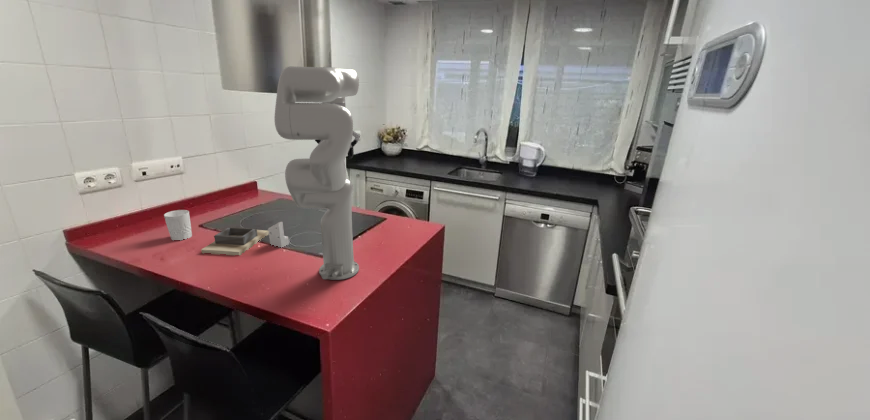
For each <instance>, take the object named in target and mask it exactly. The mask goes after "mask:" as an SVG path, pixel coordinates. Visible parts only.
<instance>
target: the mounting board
mask: <svg viewBox="0 0 870 420" xmlns="http://www.w3.org/2000/svg"><path fill="white" fill-rule="evenodd" d="M265 236H266V237H267V236H269V232H268V229H267V230H266V229H265V230H264V229H263V230H262V229H257V228H253V227H252V228H251V227H237V226H236V227H235V226H228V227H226V228H224V230H222V231H220V232H218V233H216V234H215V235H213V237H214V241H213V242H211V243H209V244H207V245H206V246H205V247H203V248H201V249H200V251H201V253H202V254H204V253H211V254H210V255H220V254H226V255H225V256H235V255H239V256H240V257H241V256H242V255H243V254H244V253H246V252H247V251H248V250H250V249H251V248H252V247H254V246H255V245H256V244H258V243H259V242H260V241H262V240H263V239H265V238H266V237H265ZM262 238H263V239H262ZM261 239H262V240H261ZM259 240H260V241H259ZM258 241H259V242H258ZM257 242H258V243H257ZM254 244H255V245H254ZM253 245H254V246H253ZM249 248H250V249H249ZM246 250H247V251H246ZM245 251H246V252H245ZM242 253H243V254H242Z"/></svg>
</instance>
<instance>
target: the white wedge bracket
mask: <svg viewBox="0 0 870 420" xmlns="http://www.w3.org/2000/svg"><path fill="white" fill-rule="evenodd" d="M283 223H284V222H283V221H279V222H277V223H275V224H273V225H272V226H270V227H267V231H268V232H269V235H268V237H269V238H268V239H269V244H271V245H270V246H272V245H274V246H273V247H276V246H278V247H277V248H280V247H281V248H280V249H282V247H283V248H284V246H285V247H286V245H287V246H289V245H290V240H289V239H290V238H289V236H286V235H285V233H284V232H285V231H284V224H283Z"/></svg>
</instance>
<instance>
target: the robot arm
mask: <svg viewBox="0 0 870 420" xmlns="http://www.w3.org/2000/svg"><path fill="white" fill-rule="evenodd" d="M359 78H360V77H359V75H358V73H357V71H356V70H355V69H353V68H341V67H340V68H339V67H331V66H322V67H321V66H319V67H318V66H287V67H285V68H284V69H283V70H282V71H281V72H280V76H279V79H278V83H277V88H276V89H277V90H276V98H275V99H276V100H275V106H274V107H275V108H274V126H275V130H276V132H277V134H278V135H279V136H280V137H281V138H283V139H285V140H289V141H290V140H292V141H295V140H296V141H297V140H298V141H300V140H301V141H302V140H303V141H305V140H307V141H309V140H310V141H311V140H313V141H314V142H316V143H317V145H316V146H315V148H314V149H313V150H312V152H311V153H310V155H309V158H294V159H291V160H290V161H288V163H287V164H286V167H285V173H284V177H285V184H286V187H287V189H288V192H289V194H290V197H291V199H292V200H293V202H294V204H295V205H296V206H297V208H300V209H303V210H304V209H306V210H307V209H308V210H309V209H311V210H312V209H327V210H326V211H325V213H324V214H323V215H322V217H321V218H320V235H321V245H322V249H321V250H322V260H323V264H322V265H321V266H320V267H319V270H318V273H319V275H320V277H321V279H322V280H330V281H331V280H332V281H340V280H346V279H349V278H352V277H354V276H356V274H357V273H358V272H359V270H360V265H359V264H358V263H357V261H355V259H354V258H355V257H354V240H353V239H354V238H353V221H352V219H353V218H352V216H353V215H352V210H353V209H352V208H353V198H354V197H353V196H354V186H353V185H354V184H353V183H352V181H351V180H350V179H349V178H347V171H346V170H347V169H346V163H345V160H346V157H347V159H348V160H350V159H352V158H353V157H354V156H355V154H354V152H355V151H354V147H355V146H356V144H357V143H359V142H358V141H359V139H360V138H361V134H359V133H358V132H356V131H354V123H353V122H354V121H353V116H352V113H351V111H350V110H349V109H348V108H347V107H346V98H347V97H352V96H356V95H358V94H357V93H358V92H359V89H360V88H359V86H360V82H359V81H360V80H359ZM353 137H354V139H353Z"/></svg>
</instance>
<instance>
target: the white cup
mask: <svg viewBox="0 0 870 420" xmlns="http://www.w3.org/2000/svg"><path fill="white" fill-rule="evenodd" d="M163 216H164V217H163V218H164V222H165V224H166V227H167V230H168V234H169V236H170V237H169V238H170V239H171V241H174V240H180V241H184V240H183V239H185V240H188V239H190V238H192V237H193V232H192V224H191V222H192V221H191V217H190V211H189V210H187V209H177V210H171V211H168V212H166V213H164V214H163ZM187 238H188V239H187Z"/></svg>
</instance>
